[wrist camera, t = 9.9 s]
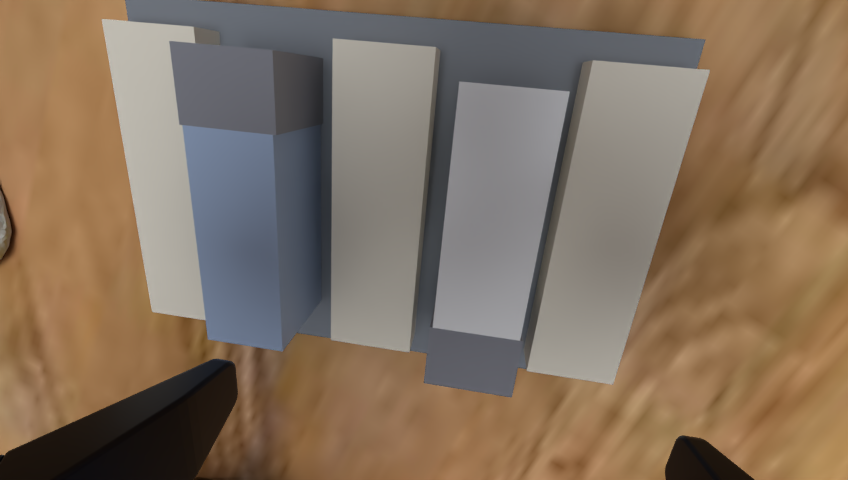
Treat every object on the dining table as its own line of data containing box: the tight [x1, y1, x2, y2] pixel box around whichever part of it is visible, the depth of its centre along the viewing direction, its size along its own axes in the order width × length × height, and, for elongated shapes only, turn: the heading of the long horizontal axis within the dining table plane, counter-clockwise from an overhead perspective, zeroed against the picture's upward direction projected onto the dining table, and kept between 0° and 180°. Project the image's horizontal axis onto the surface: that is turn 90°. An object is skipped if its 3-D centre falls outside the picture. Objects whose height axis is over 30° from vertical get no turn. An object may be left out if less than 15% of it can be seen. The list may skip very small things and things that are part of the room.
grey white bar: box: [424, 81, 570, 397], centre depth 15 cm, size 10×3×4 cm, turn 175°
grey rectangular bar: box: [169, 41, 323, 351], centre depth 16 cm, size 10×3×4 cm, turn 175°
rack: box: [102, 0, 710, 385], centre depth 17 cm, size 14×21×2 cm, turn 85°
